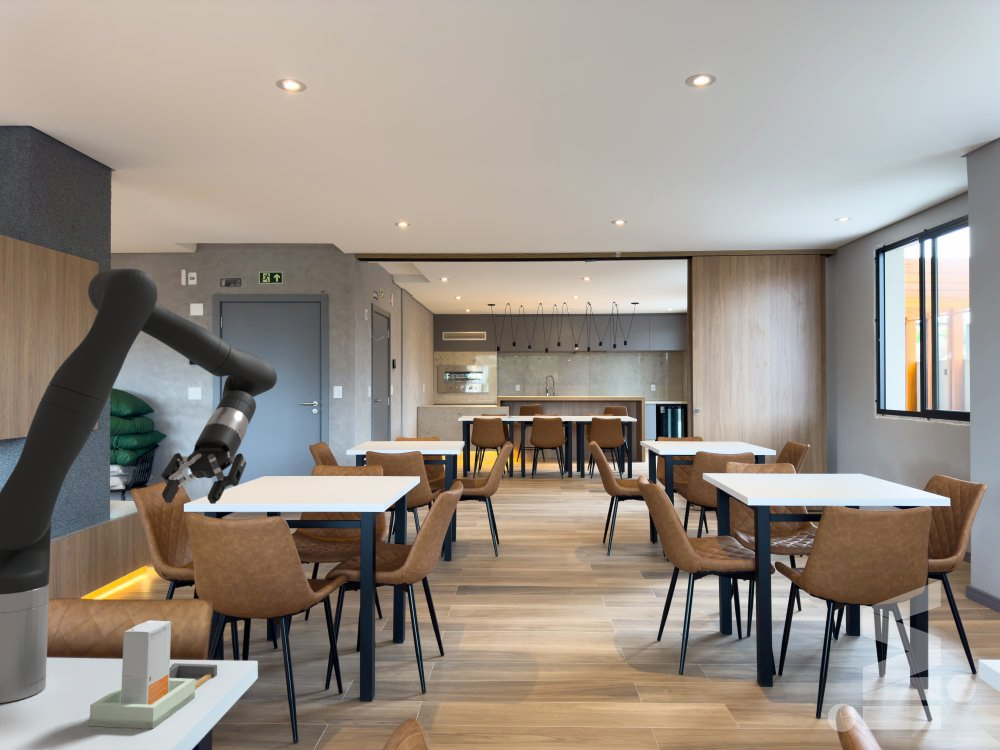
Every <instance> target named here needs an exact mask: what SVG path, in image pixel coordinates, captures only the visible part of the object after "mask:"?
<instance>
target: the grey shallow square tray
mask: <svg viewBox="0 0 1000 750" xmlns="http://www.w3.org/2000/svg"><path fill="white" fill-rule="evenodd" d="M217 676H218V664H207V663H206V664H205V663H204V664H203V663H181V662H180V663H176V662H175V663H173V664H170V671H169V678H178V677H194V678H195V677H197V678H199V679H198V680H197V681H196V680H195V690H196V689H197V688H199V687H200V686H202V685H203V684H205V683H206V682H207V681H209V680H210V679H211V678H215V677H217Z"/></svg>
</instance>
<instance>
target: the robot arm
mask: <svg viewBox="0 0 1000 750" xmlns="http://www.w3.org/2000/svg"><path fill="white" fill-rule="evenodd" d="M87 289H88V290H87V295H88V299H89V301H90V304H91V305H92V306H93V308H94V309H95V310H96V311H97V313H96V315H95V318H94V320H93V323H92V325H91V327H90V328H89V330H88V332H87V334H86V336H85V337H84V338H83V340H82V341H81V342H80V344H78V346H76V348H74V350H73V351H72V352H71V353H70V354H69V355H68V357H66V359H65V360H64V361H63V362H62V364H60V366H59V367H58V369H57V370H56V371H55V372H54V374H53V376H52V378H51V379H50V381H49V382H48V385H47V387H46V388H45V391H44V393H43V395H42V397H41V399H40V401H39V403H38V406H37V408H36V410H35V413H34V416H33V418H32V421H31V424H30V426H29V429H28V431H27V434H26V439H25V442H24V444H23V448H22V450H21V454H20V456H19V458H18V460H17V462H16V464H15V467H14V468H13V470H12V472H11V474H10V475H9V477H8V478H7V481H6V482H5V484H4V485H3V486H2V488H1V490H0V704H2V703H10V702H15V701H19V700H22V699H26V698H29V697H31V696H34V695H37V694H38V693H40V692H42V691H43V690H44V689H45V688H46V687H47V661H48V659H47V657H48V632H49V631H48V627H49V626H48V624H49V596H50V595H49V594H50V592H49V591H50V590H49V589H50V571H51V570H50V569H51V568H50V567H51V539H52V537H51V534H52V516H53V513H54V509H55V506H56V504H57V501H58V497H59V496H60V492H61V490H62V486H63V484H64V481H65V479H66V478H67V474H68V473H69V470H70V469H71V467H72V465H73V464H74V462H75V460H76V459H77V457H78V456H79V455H80V453H81V451H82V450H83V448H84V446H85V445H86V443H87V441H88V440H89V438H90V436H91V434H92V432H93V430H94V429H95V426H96V425H97V424H98V421H99V419H100V417H101V415H102V412H103V411H104V408H105V406H106V403H107V401H108V399H109V397H110V394H111V392H112V391H113V387H114V386H115V383H116V380H117V379H118V377H119V374H120V372H121V371H122V370H121V369H122V368H123V365H124V363H125V361H126V359H127V356H128V354H129V351H130V349H131V348H132V346H133V345H134V342H135V341H136V339H137V338H138V336H139V334H140V333H141V332H142V333H145V334H147V335H148V336H150V337H152V338H153V339H156V340H158V342H160V343H162V344H164V345H165V346H168V347H169V348H171V349H172V350H174V351H175V352H177V353H179V354H180V355H181V356H183V357H184V358H186V359H188V360H190V362H192V363H194V364H195V365H197V366H198V367H200V368H201V369H203V370H204V371H206V372H208V373H209V374H211V375H213V376H215V377H220V378H221V377H226V379H225V381H224V385H223V390H222V395H221V396H222V398H221V399H220V401H219V404H217V406H216V408H215V410H214V412H213V413H212V415H210V417H209V418H208V420H207V422H206V423H205V425H204V428H203V429H202V431H201V433H200V434H199V436H198V438H197V440H196V441H195V444H194V448H193V451H192V453H190V455H188V456H182V455H181V453H180V452H177V453H175V454H174V455H173V456H172V458H171V460H170V461H169V462H168V464H167V465H166V466H165V468H164V470H163V472H161V474H160V476H161V478H162V479H163V481H164V483H165V485H166V486H165V487H164V489H163V490H162V493H161V497H162V499H163V500H164V502H165V503H166V504H172V503H173V501H174V499H175V497H176V495H177V493H178V492H179V490H180V487H181V486H183V485H185V484H186V483H190V482H192V481H193V480H196V479H204V478H206V479H213V478H214V477H216V479H217V480H216V481H215V480H214V482H213V484H212V486H211V488H210V490H209V492H208V494H207V500H208V501H209V504H211V505H215V504H217V502H218V501H219V500H220V499H221V498H222V496H223V494H224V491H225V490H226V489H227V488H228V487H229V486H232V487H237V486H238V485H239V484H240V481H241V478H242V475H243V473H244V471H245V468H246V465H247V461H246V458H245V457H244V455H243V453H241V452H240V453H237V452H238V450H239V448H240V446H241V444H242V442H243V440H244V438H245V435H246V433H247V430H248V427H249V424H250V423H251V420H252V419H253V416H254V415H255V412H256V408H257V402H256V400H255V397H257V396H259V395H261V394H263V393H267V392H268V391H270V390H271V389H273V388H274V387H275V386H276V384H277V381H278V376H277V375H278V374H277V371H276V370H275V368H274V367H273V365H272V364H271V363H270V362H269V361H267V360H266V359H265V358H263V357H260V356H258V355H256V354H253V353H251V352H248V351H246V350H244V349H240V348H236V347H234V346H233V345H231V344H229V342H227V341H225V340H223V338H221V337H219V336H218V335H217V334H215V333H213V332H212V331H210V330H209V329H206V328H205V327H203V326H201V325H200V324H198V323H195V322H193V321H190V320H188V319H187V318H184V317H182V316H181V315H178V314H177V313H175V312H173V311H171V310H169V309H168V308H166V307H165V306H163V305H162V304H160V303H159V302H158V286H157V284H156V282H155V279H153V277H152V276H151V275H150V274H149V273H147V272H146V271H143V270H140V269H137V268H112V269H106V270H103V271H101V272H98V273H97V274H96V275H94V276H93V278H92V279H91V280H90V282H89V284H88V288H87ZM229 467H230V469H229V472H228V474H227V475H225V473H224V471H225V470H226V469H228V468H229ZM188 470H189V471H190V472H191V473H190V474H189V473H188ZM180 477H181V478H180ZM178 478H179V479H178Z"/></svg>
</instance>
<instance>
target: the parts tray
mask: <svg viewBox="0 0 1000 750" xmlns="http://www.w3.org/2000/svg"><path fill="white" fill-rule="evenodd" d="M195 682H196V678H181V677H179V678H178V677H176V678H169V693H168V694H166V695H165V696H163V697H162V698H160V699H159V700H157V701H156V702H154V703H153V704H151V705H148V704H125V703H121V690H122V685H121V686H120V687H118V688H116V689H115V690H113V691H112V692H109V693H107V695H105V696H102V697H101V698H99V699H98V700H97V701H95V702H93V703H91V704H90V706H89V708H90V709H89V726H90V727H105V728H107V727H109V728H126V729H128V728H129V729H131V728H132V729H148V730H149V729H151V730H153V729H154V728H156V727H158V726H159V725H160V724H161V722H162V723H163V722H164V721H165V719H166V720H167V719H168V718H170V717H171V716H173V714H175V713H176V712H178V711H180V710H181V709H182V708H183V707H184V706H186V705H187V704H188V703H190V702H191V701H193V700H194V699H195V698H196V697H195V696H196V689H195ZM169 716H170V717H169ZM158 724H159V725H158Z"/></svg>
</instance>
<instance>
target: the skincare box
mask: <svg viewBox="0 0 1000 750" xmlns="http://www.w3.org/2000/svg"><path fill="white" fill-rule="evenodd" d="M171 631H172V621H171V620H170V621H169V620H167V621H166V620H151V619H149V620H147V621H144V622H142V623H138V624H137V625H134V626H133V627H131V628H129V629H127V630H125V631H124V632H123V637H122V638H123V643H122V668H121V671H122V672H121V686H122V690H121V703H125V704H148V705H151V704H153V703H154V702H156V701H157V700H159V699H160V698H162V697H163V696H165V695H166V694H168V693H169V671H170V667H171V664H170V663H171V635H172V634H171V633H172V632H171Z"/></svg>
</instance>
